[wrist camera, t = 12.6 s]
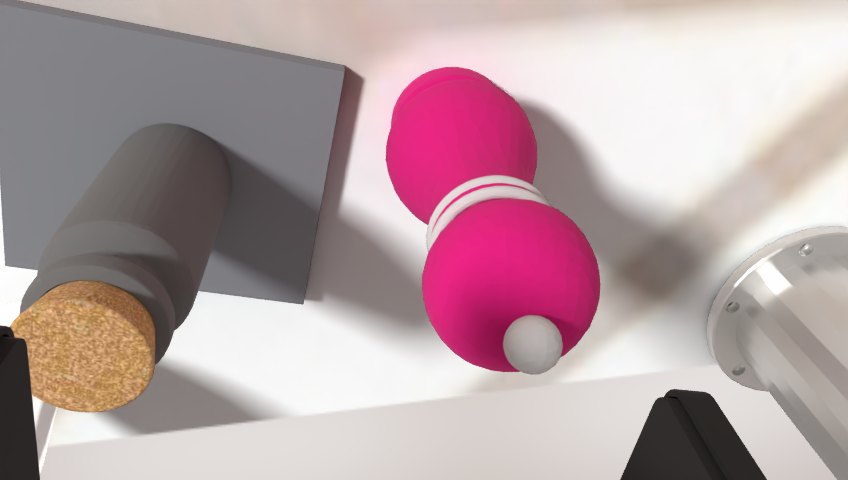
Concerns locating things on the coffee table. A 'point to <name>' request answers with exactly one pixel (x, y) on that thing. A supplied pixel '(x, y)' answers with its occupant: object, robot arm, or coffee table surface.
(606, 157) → the coffee table surface
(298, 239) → the mat
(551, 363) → the pepper mill
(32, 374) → the bottle
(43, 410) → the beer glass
